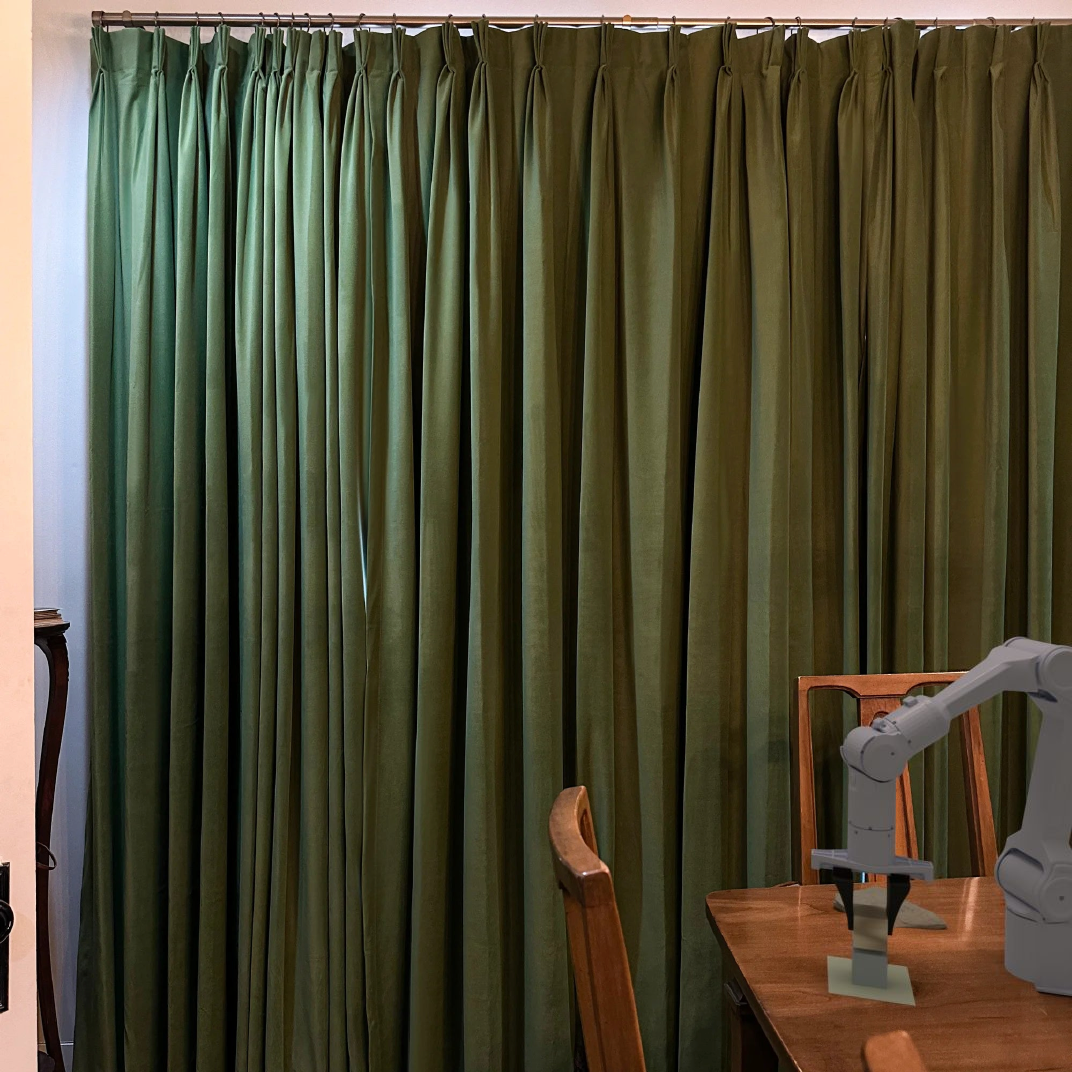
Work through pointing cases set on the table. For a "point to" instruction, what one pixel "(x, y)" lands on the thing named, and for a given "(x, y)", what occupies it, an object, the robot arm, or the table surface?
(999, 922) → the table surface
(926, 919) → the stone
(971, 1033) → the table surface
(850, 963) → the plate
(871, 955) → the slate cube
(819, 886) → the table surface
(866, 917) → the cream cube
